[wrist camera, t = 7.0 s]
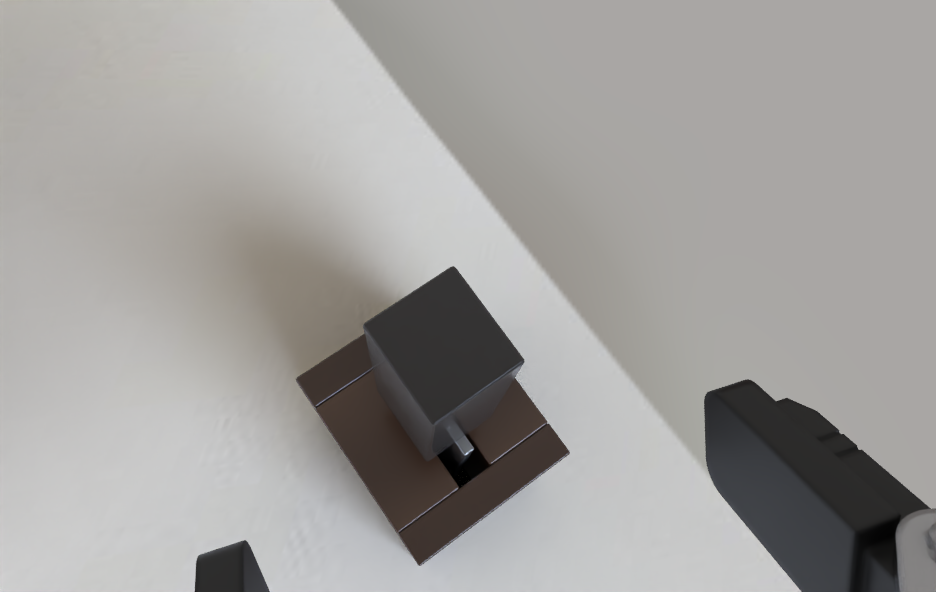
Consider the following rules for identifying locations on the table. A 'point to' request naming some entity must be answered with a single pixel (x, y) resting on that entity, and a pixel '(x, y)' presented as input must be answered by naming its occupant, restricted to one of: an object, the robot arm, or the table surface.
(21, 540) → the table surface
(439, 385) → the knife
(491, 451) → the knife block
